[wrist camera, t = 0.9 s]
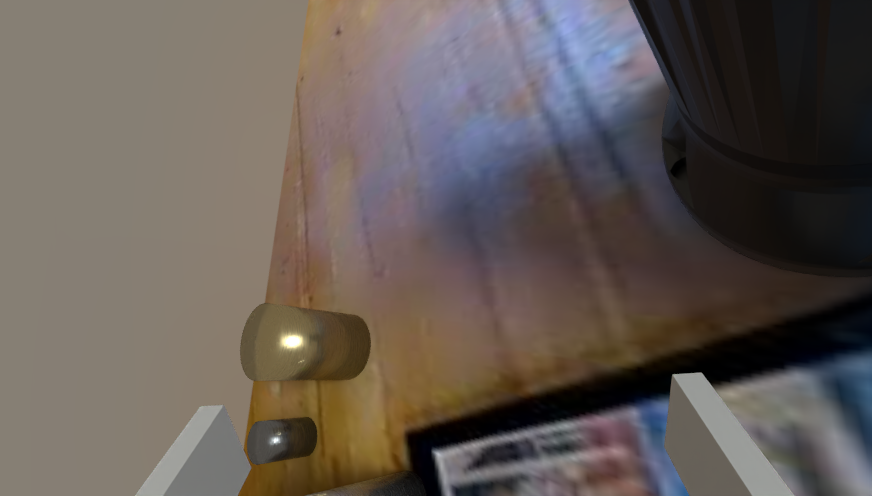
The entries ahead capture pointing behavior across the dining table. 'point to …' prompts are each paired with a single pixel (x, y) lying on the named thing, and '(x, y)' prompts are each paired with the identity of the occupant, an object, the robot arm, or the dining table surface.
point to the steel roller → (382, 487)
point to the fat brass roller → (303, 344)
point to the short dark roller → (281, 440)
